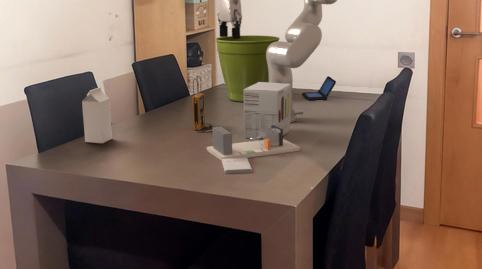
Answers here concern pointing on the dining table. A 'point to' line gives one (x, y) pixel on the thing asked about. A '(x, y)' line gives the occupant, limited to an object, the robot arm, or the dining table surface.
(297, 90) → the dining table surface
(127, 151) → the dining table surface
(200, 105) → the multimeter
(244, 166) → the external hard drive
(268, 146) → the small orange block
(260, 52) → the plant pot
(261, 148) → the base
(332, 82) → the handheld game console
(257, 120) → the supplement box
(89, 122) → the milk carton
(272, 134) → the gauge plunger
